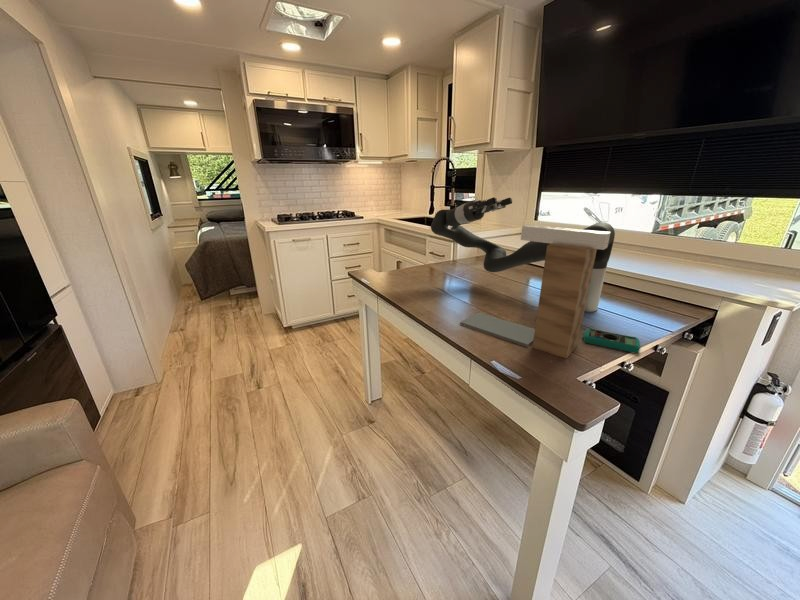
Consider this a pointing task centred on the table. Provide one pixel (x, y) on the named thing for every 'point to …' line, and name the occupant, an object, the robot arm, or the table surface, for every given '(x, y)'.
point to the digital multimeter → (612, 340)
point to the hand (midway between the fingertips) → (503, 200)
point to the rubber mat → (501, 328)
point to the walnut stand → (563, 298)
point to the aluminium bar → (566, 236)
